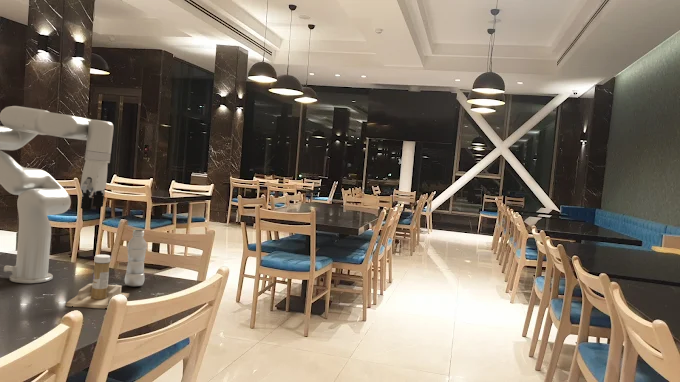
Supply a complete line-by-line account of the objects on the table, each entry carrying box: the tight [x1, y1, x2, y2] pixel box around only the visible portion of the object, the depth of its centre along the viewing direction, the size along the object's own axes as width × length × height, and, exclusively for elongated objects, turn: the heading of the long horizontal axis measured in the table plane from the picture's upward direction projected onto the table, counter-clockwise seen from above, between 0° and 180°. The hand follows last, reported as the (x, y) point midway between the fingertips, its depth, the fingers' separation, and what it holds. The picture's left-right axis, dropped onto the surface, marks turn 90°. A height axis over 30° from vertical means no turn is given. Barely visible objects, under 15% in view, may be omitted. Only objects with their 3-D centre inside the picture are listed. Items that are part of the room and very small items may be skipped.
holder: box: [65, 283, 130, 309], centre depth 150 cm, size 14×14×4 cm
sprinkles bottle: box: [91, 254, 111, 299], centre depth 150 cm, size 5×5×13 cm
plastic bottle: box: [124, 229, 148, 288], centre depth 170 cm, size 6×7×20 cm
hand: (92, 207), depth 160 cm, fingers open, 9 cm apart
